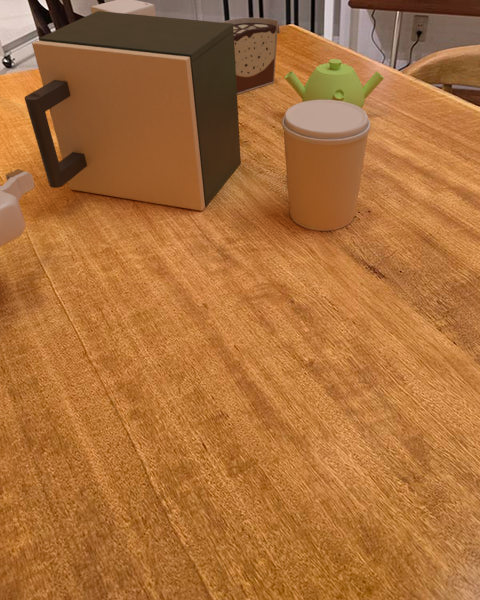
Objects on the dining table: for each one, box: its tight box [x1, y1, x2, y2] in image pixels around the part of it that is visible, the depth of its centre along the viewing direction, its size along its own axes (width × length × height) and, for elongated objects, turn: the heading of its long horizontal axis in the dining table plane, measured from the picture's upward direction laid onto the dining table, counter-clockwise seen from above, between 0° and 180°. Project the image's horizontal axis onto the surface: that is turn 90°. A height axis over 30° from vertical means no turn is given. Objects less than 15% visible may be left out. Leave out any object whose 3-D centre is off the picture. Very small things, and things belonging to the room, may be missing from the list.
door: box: [24, 40, 206, 212], centre depth 64 cm, size 7×18×17 cm, turn 74°
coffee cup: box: [281, 100, 371, 232], centre depth 66 cm, size 9×9×12 cm
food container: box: [221, 17, 281, 96], centre depth 99 cm, size 12×6×10 cm, turn 135°
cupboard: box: [38, 11, 242, 208], centre depth 71 cm, size 12×18×18 cm
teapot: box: [284, 58, 385, 109], centre depth 90 cm, size 11×12×8 cm
